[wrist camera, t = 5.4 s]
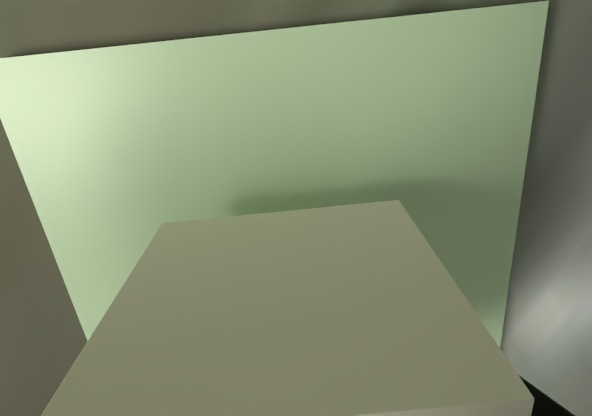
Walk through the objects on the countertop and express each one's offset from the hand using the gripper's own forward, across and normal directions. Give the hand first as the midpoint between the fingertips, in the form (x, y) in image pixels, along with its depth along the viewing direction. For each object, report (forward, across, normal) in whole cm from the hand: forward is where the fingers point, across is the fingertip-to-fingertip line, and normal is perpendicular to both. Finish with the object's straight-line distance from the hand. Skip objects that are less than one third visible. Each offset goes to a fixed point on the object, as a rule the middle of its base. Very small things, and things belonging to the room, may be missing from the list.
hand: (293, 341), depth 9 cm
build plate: (+3, 0, 0) cm, 3 cm away
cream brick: (+1, 0, 0) cm, 1 cm away
